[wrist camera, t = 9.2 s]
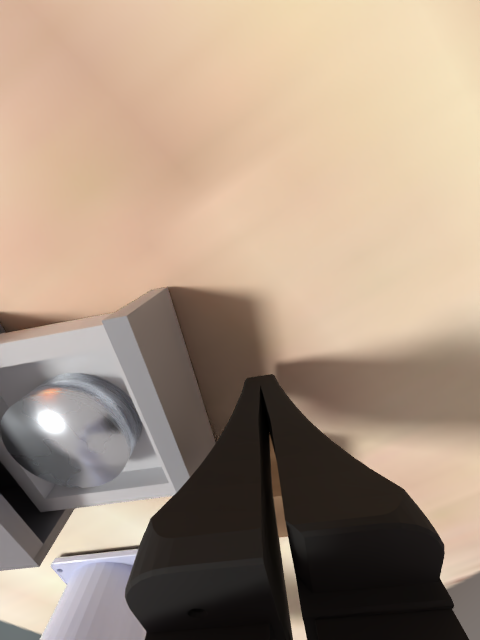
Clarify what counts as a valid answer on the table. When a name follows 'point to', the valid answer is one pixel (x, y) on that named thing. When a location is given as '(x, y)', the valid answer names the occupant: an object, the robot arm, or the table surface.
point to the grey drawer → (130, 376)
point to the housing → (25, 525)
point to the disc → (73, 430)
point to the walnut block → (277, 494)
